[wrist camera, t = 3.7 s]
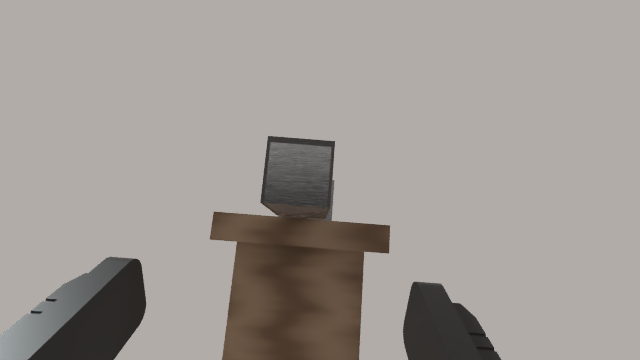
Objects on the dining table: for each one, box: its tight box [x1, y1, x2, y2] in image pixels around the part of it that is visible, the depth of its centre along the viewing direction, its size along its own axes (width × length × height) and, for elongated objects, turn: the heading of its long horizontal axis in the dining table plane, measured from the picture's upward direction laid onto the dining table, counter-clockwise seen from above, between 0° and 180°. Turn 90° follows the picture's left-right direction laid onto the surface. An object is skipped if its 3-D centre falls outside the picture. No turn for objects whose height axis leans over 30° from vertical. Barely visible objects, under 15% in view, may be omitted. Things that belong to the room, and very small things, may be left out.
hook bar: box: [261, 136, 335, 221], centre depth 26 cm, size 5×21×4 cm, turn 1°
